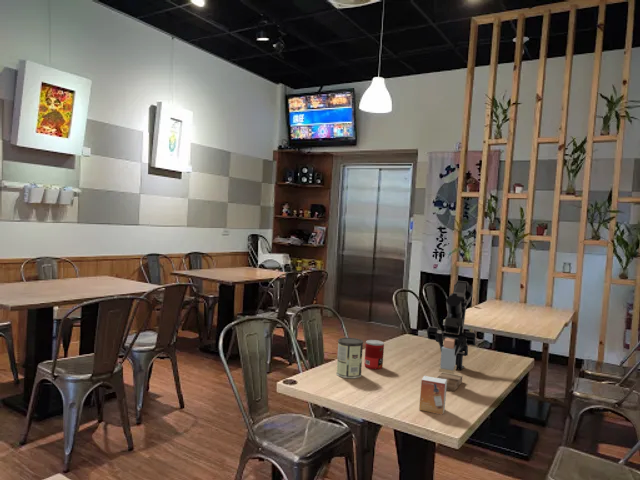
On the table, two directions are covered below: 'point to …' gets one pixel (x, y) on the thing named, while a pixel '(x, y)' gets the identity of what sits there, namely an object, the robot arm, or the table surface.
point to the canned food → (374, 354)
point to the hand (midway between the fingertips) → (448, 353)
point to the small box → (433, 395)
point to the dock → (451, 380)
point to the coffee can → (349, 357)
